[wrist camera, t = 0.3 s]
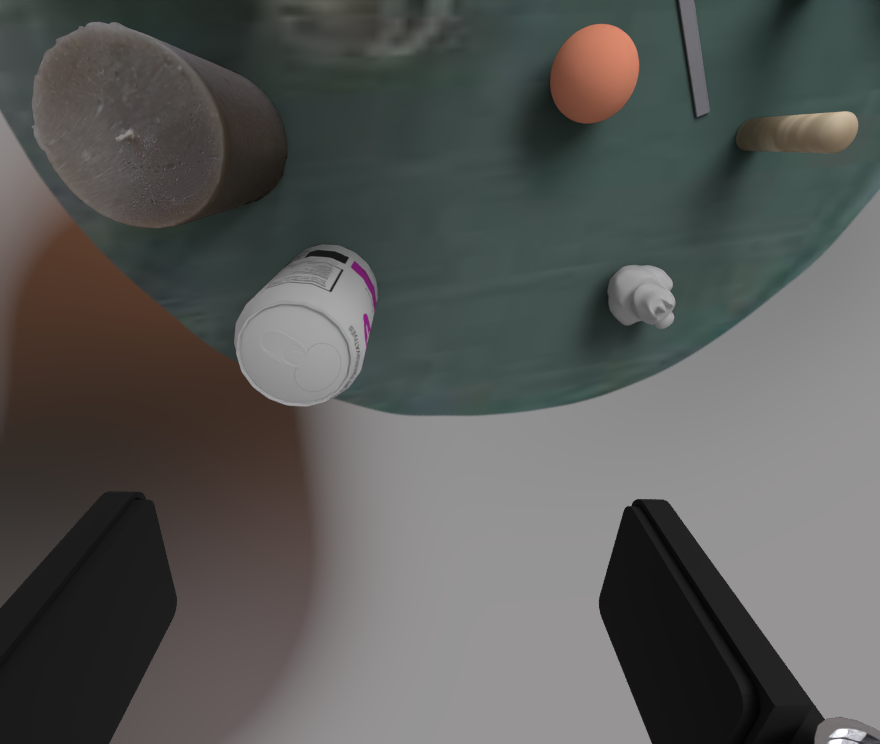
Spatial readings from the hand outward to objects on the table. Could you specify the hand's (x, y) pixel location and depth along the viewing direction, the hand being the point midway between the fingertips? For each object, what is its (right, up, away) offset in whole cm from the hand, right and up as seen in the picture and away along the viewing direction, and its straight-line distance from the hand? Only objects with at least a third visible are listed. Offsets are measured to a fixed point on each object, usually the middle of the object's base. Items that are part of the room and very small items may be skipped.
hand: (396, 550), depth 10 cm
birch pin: (+26, +23, +29) cm, 45 cm away
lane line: (+19, +29, +26) cm, 44 cm away
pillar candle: (-16, +22, +28) cm, 39 cm away
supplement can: (-9, +11, +33) cm, 36 cm away
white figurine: (+19, +11, +35) cm, 41 cm away
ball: (+12, +25, +24) cm, 37 cm away
